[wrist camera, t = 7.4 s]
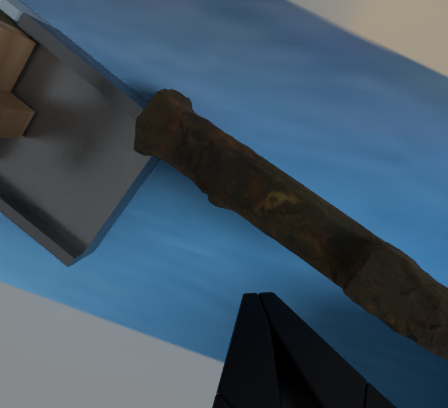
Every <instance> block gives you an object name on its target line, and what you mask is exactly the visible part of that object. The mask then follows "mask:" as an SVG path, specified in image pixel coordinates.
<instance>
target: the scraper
mask: <svg viewBox="0 0 448 408" xmlns="http://www.w3.org/2000/svg"><path fill="white" fill-rule="evenodd" d="M35 44H36V42H35V41H34V40H32V39H31V38H30V37H29V36H27V35H26V34H25V33H24V32H23V31H21V30H19V29H17V28H15V27H13V26H10V25H8V24H6V23H3V22H1V21H0V138H21V136H22V135H23V133H24V131H25V129H26V127H27V126H28V124H29V122H30V120H31V119H32V117H33V115H34V113H35V112H34V111H33V110H32V109H31V108H29V107H28V106H27V105H26V104H24V103H23V102H22V101H21V100H20V99H18V98H17V97H16V96H15V95H13V94H12V93H11V90H12V88H13V86H14V84H15V82H16V80H17V78H18V76H19V75H20V73H21V71H22V69H23V67H24V65H25V63H26V61H27V60H28V58H29V56H30V54H31V52H32V50H33V48H34V46H35Z"/></svg>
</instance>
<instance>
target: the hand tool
mask: <svg viewBox="0 0 448 408" xmlns="http://www.w3.org/2000/svg"><path fill="white" fill-rule="evenodd" d="M133 149H134V150H135V152H137V153H139V154H141V155H143V156H155V157H157V158H159V159H162V160H165V161H166V162H168V163H169V164H170V165H171V166H172V167H174V168H175V169H176V170H178V171H179V172H181V173H183V174H184V175H185V176H187V177H188V178H190V179H191V180H192V181H193V182H194V183H195V184H196V185H197V186H198V187H199V189H200V190H201V191H202V192H203V193H206V194H207V195H208V199H209V201H210V203H212V204H213V205H215V206H217V207H221V208H225V209H229V210H232V211H235V212H237V213H238V214H239V215H241V216H242V217H243V218H245V219H246V220H248V221H249V222H250V223H252V224H253V225H254V226H255V227H257V228H258V229H259V230H261V231H262V232H264V233H265V234H266V235H268V236H270V237H271V238H273V239H275V240H276V241H277V242H278V243H280V244H281V245H283V246H284V247H285V248H287V249H288V250H290V251H291V252H293V253H294V254H296V255H297V256H299V257H300V258H301V259H303V260H304V261H305V262H307V263H308V264H309V265H311V266H312V267H314V268H315V269H316V270H318V271H319V272H320V273H322V274H323V275H325V276H326V277H327V278H329V279H330V280H331V281H332V282H334V283H335V284H336V285H338V286H340V287H341V288H342V289H343V292H344V294H345V295H346V296H348V297H349V298H350V299H351V300H352V301H353V302H355V303H356V304H358V305H360V306H361V307H362V308H363V309H364V310H365V311H367V312H368V313H370V314H372V315H374V316H376V317H378V318H379V319H380V320H381V321H383V322H384V323H385V324H386V325H387V326H389V327H390V328H391V329H392V330H393V331H394V332H396V333H398V334H400V335H403V336H405V337H407V338H409V339H412V340H413V341H414V342H415V343H417V344H418V345H419V346H421V347H422V348H424V349H426V350H428V351H429V352H431V353H433V354H435V355H436V356H438V357H441V358H443V359H445V360H448V288H447V287H445V286H444V285H442V284H440V283H438V282H437V281H436V280H435V279H434V278H432V277H431V276H430V275H429V274H428V273H426V272H425V271H423V270H422V269H421V268H420V266H419V265H418V264H417V263H416V262H415V261H414V260H413V259H412V258H410V257H409V256H408V255H406V254H405V253H404V252H402V251H401V250H400V249H398V248H396V247H394V246H393V245H391V244H390V243H388V242H385V241H383V240H382V239H380V238H379V237H377V236H376V235H374V234H373V233H371V232H370V231H369V230H367V229H366V228H365V227H363V226H362V225H360V224H359V223H358V222H356V221H355V220H353V219H352V218H350V217H349V216H347V215H346V214H345V213H343V212H342V211H340V210H339V209H337V208H336V207H334V206H333V205H331V204H330V203H328V202H327V201H326V200H324V199H323V198H321V197H320V196H318V195H317V194H315V193H314V192H312V191H311V190H309V189H308V188H307V187H305V186H304V185H302V184H301V183H299V182H298V181H296V180H295V179H294V178H292V177H291V176H289V175H288V174H286V173H285V172H283V171H281V170H280V169H279V168H277V167H276V166H275V165H273V164H272V163H270V162H268V161H267V160H266V159H264V158H263V157H261V156H259V155H258V154H257V153H256V152H254V151H253V150H252V149H251V148H249V147H248V146H246V145H244V144H242V143H240V142H239V141H237V140H236V139H234V138H233V137H232V136H230V135H228V134H226V133H225V132H223V131H222V130H221V129H219V128H218V127H216V126H215V125H213V124H212V123H211V122H210V121H208V120H207V119H205V118H202V117H200V116H199V115H197V114H196V113H195V112H194V111H193V110H192V103H191V101H190V99H189V98H186V97H185V96H184V95H183V94H181V93H180V92H178V91H176V90H173V89H170V90H167V89H163V90H162V89H161V90H160V91H159V92H157V93H155V95H154V96H153V97H152V98H151V100H150V101H149V102H148V104H147V105H146V106H145V108H144V110H143V111H142V113H141V114H140V115H139V116H137V119H136V124H135V138H134V147H133Z"/></svg>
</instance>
